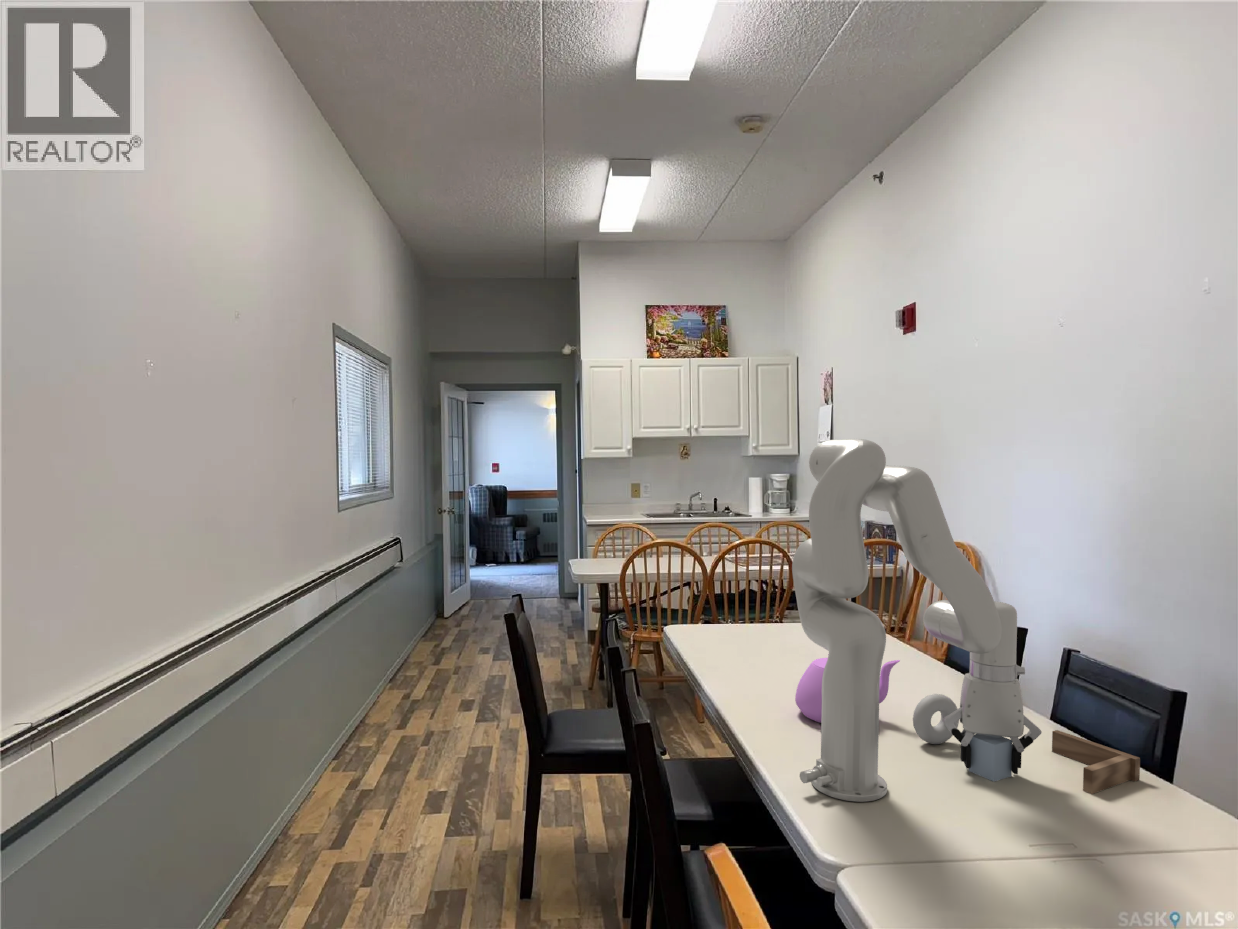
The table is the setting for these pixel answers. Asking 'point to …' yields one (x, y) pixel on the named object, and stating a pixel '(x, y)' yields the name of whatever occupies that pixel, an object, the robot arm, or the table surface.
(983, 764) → the block
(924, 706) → the donut
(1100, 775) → the corner stop
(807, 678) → the teapot
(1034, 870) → the table surface
